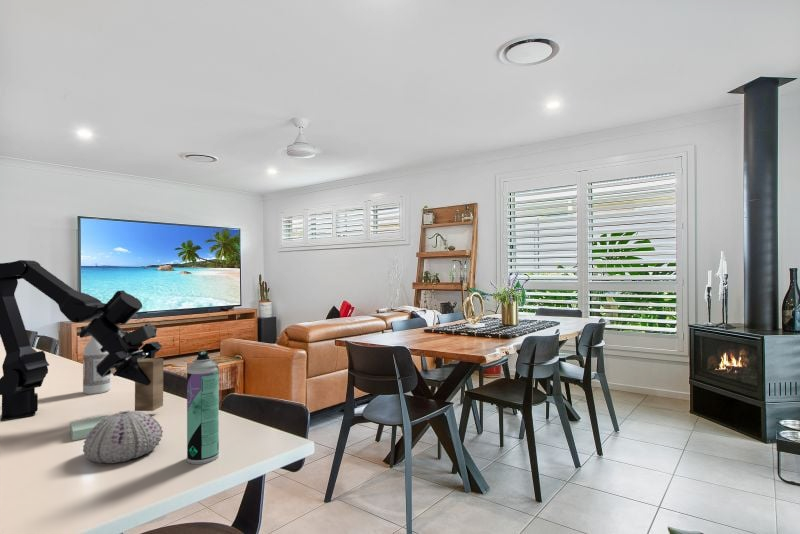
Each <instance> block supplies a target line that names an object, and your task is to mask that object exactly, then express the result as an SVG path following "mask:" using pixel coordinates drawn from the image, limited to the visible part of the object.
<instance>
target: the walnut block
mask: <svg viewBox="0 0 800 534" xmlns="http://www.w3.org/2000/svg"><path fill="white" fill-rule="evenodd" d="M137 363H138V366H139V367H140V368H141V369H142V371H143V372H144V373H145V374H146V376H147V377H148V378H149V380H150V381H151V383H150V384H149V385H144V384H141V383H138V382H135V381H134V411H136V412H154V411H156V410H158V409H160V408H161V407H163V406H164V357H163V358H160V357H159V358H158V357H154V358H145V359H142V360H139V361H137Z"/></svg>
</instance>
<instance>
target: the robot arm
mask: <svg viewBox="0 0 800 534" xmlns="http://www.w3.org/2000/svg"><path fill="white" fill-rule="evenodd" d="M21 279H23V280H24V281H26V282H27V283H28V284H30V285H31V286H33V287H34V288H36V289H37V290H38V291H40V292H41V293H43V294H44V295H45V296H47V297H48V298H49V299H51V300H52V301H54V303H56V304H57V306H58V308H59V312H61V313H62V314H63V316H65V317H66V319H67V320H69V321H70V322H72V323H83V322H89V323H88V324H87V325H84V326H83V325H81V327H80V333H79V338H87V337H91V336H92V337H93V338H94V339H95V340H96V341H97V342H98V343H99V344H100V345H101V346H102V348H101V349H100V351H101V352H102V353H103V352H108V353H109V354H108V355H107V356H106V357H105V358H104V359H103V360H102V361H101V362H100V363H99V364H98V365H97V366H96V372H97V373H98V374H99V375H100V376H101V377H105V376H108V375H110V374H111V373H112V371H111V370H110V369H113V368H114V370H115V372H114V373H113V374H111V375H112V376H113V377H120V378H123V379H127V380H130V381H133V382H134V383H135V382H138V383H141V384H144V385H149V384H150V383H151V381H150V380H149V378H148V377H147V376H146V374H145V373H144V372H143V371H142V369H141V368H140V367H139V366H138V363H137V361H139V360H142V359H145V358H156V357H155V356H156V354H157V353H158V352H159V351H160V350H161V349H162V348H163V345H162V344H160V343H159V341H151V342H150V341H149V340H150V339H154V338H156V337H157V331H158V329H157V327H155V325H154V324H152V323H150V322H149V323H146V324H145V325H141V327H139V328H136V329H135V330H133V331H130V330H127V331H124V330H123V328H121V327H120V326H119V325H126V324H127V323H128V322H129V321H130V320H131V319H132V318H133V317H134V316H135V315H136V314H137V313H138V312H139V311H140V310H141V309H142V308H143V304H142V302H141V300H140V299H139V298H137V297H135V296H133V295H132V294H129V293H127V292H126V291H125V290H117V291H116V292H115V293H114V294H113V296H112V297H111V298H110V299H109V300H108V301H107V302H106V303H105V302H102V301H101V300H100V299H98V298H96V297H95V296H92V295H90V294H88V293H85V292H81V291H78V290H76V289H74V288H73V287H72V286H69V284H67V283H65V281H62V280H61V279H59V278H58V277H57V276H55V275H54V274H53V273H51V272H50V271H49V270H48V269H46V268H44V267H43V266H42V265H41V263H39V262H38V261H36V260H30V259H29V260H26V259H19V260H15V261H11V262H10V261H9V262H0V339H1V342H2V345H3V348H4V351H5V357H4V360H3V364H2V366H1V367H2V374H3V375H2V376H1V377H0V396H1V414H0V415H1V416H0V421H6V420H5V419H8V420H14V419H19V418H25V417H31V416H33V417H34V416H36V412H37V411H39V409H38V406H39V402H38V400H39V395H38V392H36V388H41V387H42V385H43V382H44V380H45V379H46V376H47V374H48V373H49V368H48V366H50V363H49V362H48V361H47V358H46V352H45V351H44V350H40V351H37V350H36V349H34V348H33V347H32V345H31V342H30V339H29V336H28V332H27V329H26V326H25V324H24V320H23V318H22V317H23V316H22V314H21V312H20V311H21V310H20V308H19V305H18V302H17V300H16V296H15V292H16V290H17V288H18V286H19V285H18V284H19V282H18V280H21ZM146 341H149V342H147V343H144V342H146ZM139 348H140V349H139ZM13 418H14V419H13Z"/></svg>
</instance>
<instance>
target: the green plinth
mask: <svg viewBox="0 0 800 534" xmlns="http://www.w3.org/2000/svg"><path fill="white" fill-rule="evenodd" d="M110 415H111V414H108V415H102V416H97V417H91V418H86V419H80V420H74V421H70V422H69V432H70V435H71V438H72V441H74V442H75V441H79V440H84V439H87V435H89V433H90V431H91V430H92V429H93V428H94V427H95V426H96V425H97V424H98V423H99V422H100V421H101V420H103V419H104V418H106V417H108V416H110Z"/></svg>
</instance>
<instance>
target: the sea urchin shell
mask: <svg viewBox="0 0 800 534" xmlns="http://www.w3.org/2000/svg"><path fill="white" fill-rule="evenodd" d="M109 415H110V416H108V417H106V418H104V419H103V420H101V421H100V422H99V423H98V424H97V425H96V426H95V427H94V428H93V429H92V430H91V431H90V433H89V435H87V438H85V440H84V441H83V446H82V447H83V449H82V452H83V454H84V455H83V456H85V458H86V459H89V461H91V462H94V463H96V464H97V463H98V464H99V463H100V464H105V463H106V464H117V463H120V462H121V463H123V462H126V461H128V462H129V461H130V460H131V459H137V458H139V457H142V456H143V455H146V454H149V453H150V452H152V451H153V450H155V448H156V447H157V446H159V445H160V442H161V441H162V437H163V433H164V430H163V429H162V428H163V427H162V425H161V424H160V423H159V422H158V421H157V420H156V418H154V417H152V415H150V414H148V413H146V412H144V411H135V410H124V411H119V412H116V413H113V414H109Z"/></svg>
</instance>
